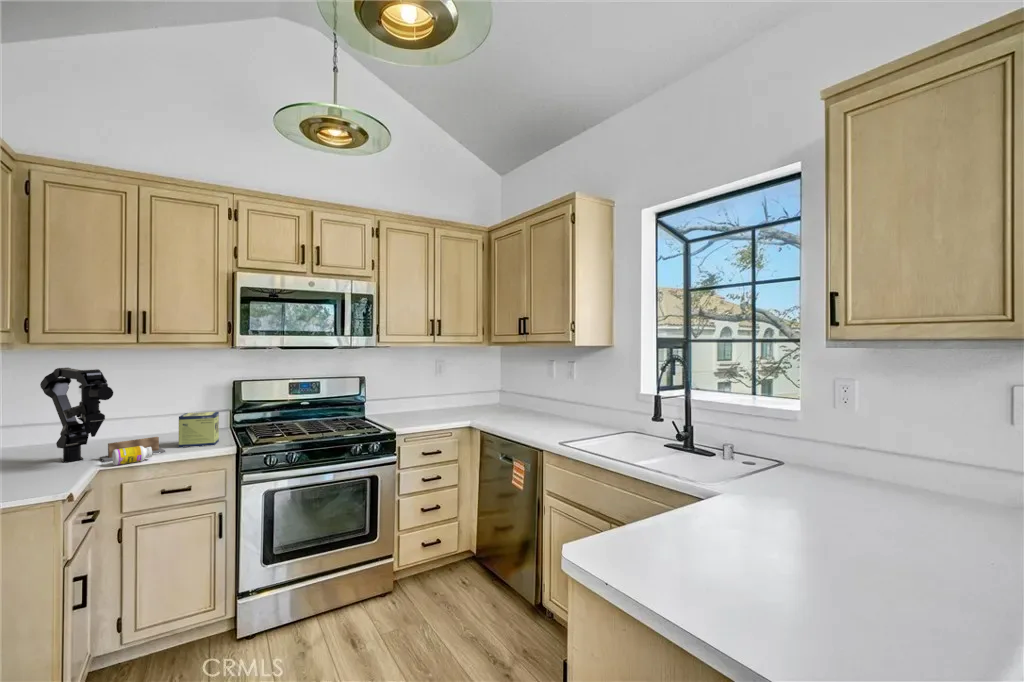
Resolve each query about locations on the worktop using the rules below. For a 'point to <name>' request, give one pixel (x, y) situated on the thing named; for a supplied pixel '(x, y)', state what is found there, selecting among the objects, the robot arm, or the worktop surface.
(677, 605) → the worktop surface
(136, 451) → the supplement bottle
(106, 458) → the mat
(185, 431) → the protein box
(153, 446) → the brown wooden plank
